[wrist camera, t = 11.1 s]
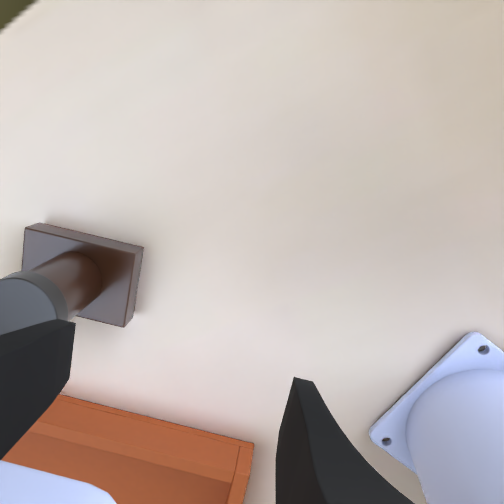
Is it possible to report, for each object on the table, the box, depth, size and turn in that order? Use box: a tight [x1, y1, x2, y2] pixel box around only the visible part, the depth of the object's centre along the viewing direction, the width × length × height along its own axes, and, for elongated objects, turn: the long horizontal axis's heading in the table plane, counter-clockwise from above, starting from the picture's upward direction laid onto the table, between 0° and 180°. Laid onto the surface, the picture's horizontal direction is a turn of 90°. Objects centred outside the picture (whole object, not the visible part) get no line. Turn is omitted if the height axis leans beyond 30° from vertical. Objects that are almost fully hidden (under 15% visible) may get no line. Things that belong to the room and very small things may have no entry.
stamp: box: [0, 223, 144, 335], centre depth 21 cm, size 6×4×6 cm
